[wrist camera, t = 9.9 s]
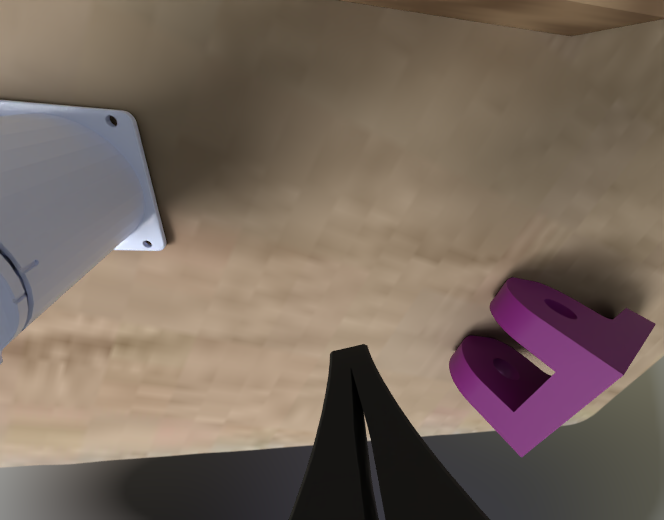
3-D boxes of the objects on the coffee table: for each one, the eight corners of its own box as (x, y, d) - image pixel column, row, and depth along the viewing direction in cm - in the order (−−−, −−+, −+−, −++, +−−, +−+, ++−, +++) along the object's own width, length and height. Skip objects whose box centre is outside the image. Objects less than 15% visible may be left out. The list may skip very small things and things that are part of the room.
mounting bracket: (564, 264, 31) (488, 282, 21) (661, 314, 26) (624, 374, 15) (515, 324, 36) (432, 364, 25) (588, 378, 30) (521, 457, 20)
